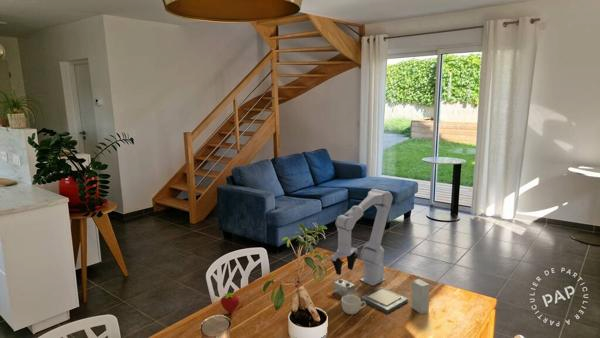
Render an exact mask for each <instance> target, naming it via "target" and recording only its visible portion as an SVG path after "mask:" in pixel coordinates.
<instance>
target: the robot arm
mask: <svg viewBox="0 0 600 338" xmlns="http://www.w3.org/2000/svg"><path fill="white" fill-rule="evenodd" d="M393 199H394V196H393V195H392V193H391V192H390V191H387V190H380V189H377V188H372V189H370V190H369V191H367V196H366V197H365V198H364V199H363V200H362V201H361V202H360V203H359V204H358V205H353V206H351V208H350V209H348V210H347V212H345V213H344V214H340V215H338V216H337V218H336V220H335V222H334V223H335V227H336V230H337V249H336V252H335V253H334V254H332V255H331V257H330V261H331V263H332V265H333V267H334V271H335V273H336V275H338V276H341V275H342V266H343V263H344V261H342V260H341V259H342V258H345V257H346V261H347V269H348V270H351V271H352V270H353V269H354V265H355V262H356V260H357V258H358V254H357V253H358V248H356V247H352V230H353V228H354V227H355V225H356V222H357V221H358V220H360V219H361V218H362V217H363V216H364V212H365V211H366V210H368V209H369V208H370V207H372V206H374V207H375V208H376V214H375V218H374V222H373V226H372V231H371V233H370V234H371V235H370V238H369V241H368V242H366V243H364V244H363V247H362V250H361V251H360V258H361V259H362V263H363V265H364V266H363V277H362V278H360V279H359V280H360V281H361V282H364V283H366V284H368V285H370V286H376V285H377V284H379V283H381V282H384V281H385V280H386V278H385V277H384V276H385V275H384V273H385V266H384V264H383V261H384V257H385V256H384V252H385V249H384V247H382V245H381V244H382V239H383V236H384V232H385V227H386V226H387V225H386V224H387V220H388V216H389V213H390V210H391V207H392V203H393Z"/></svg>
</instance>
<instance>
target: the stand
mask: <svg viewBox="0 0 600 338" xmlns="http://www.w3.org/2000/svg"><path fill="white" fill-rule="evenodd" d="M360 299H361V301H364V302H365V303H366V304H367V305H370V306H371V307H374V308H375V309H378V310H380V311H382V312H384V313H386V314H389V313H391V312H392V311H394V310H396V309H398V308H399V307H401V306H403V305H405V304H406V303H408V302H409V298H408V297H406V296H403V295H401V294H399V293H396V292H394V291H392V290H390V289H387V288H386V287H385V288H384V287H383V286H381V287H379V288H376V289H375V290H372V291H371V292H369V293H366V294H365V295H363V296H361V297H360Z"/></svg>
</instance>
